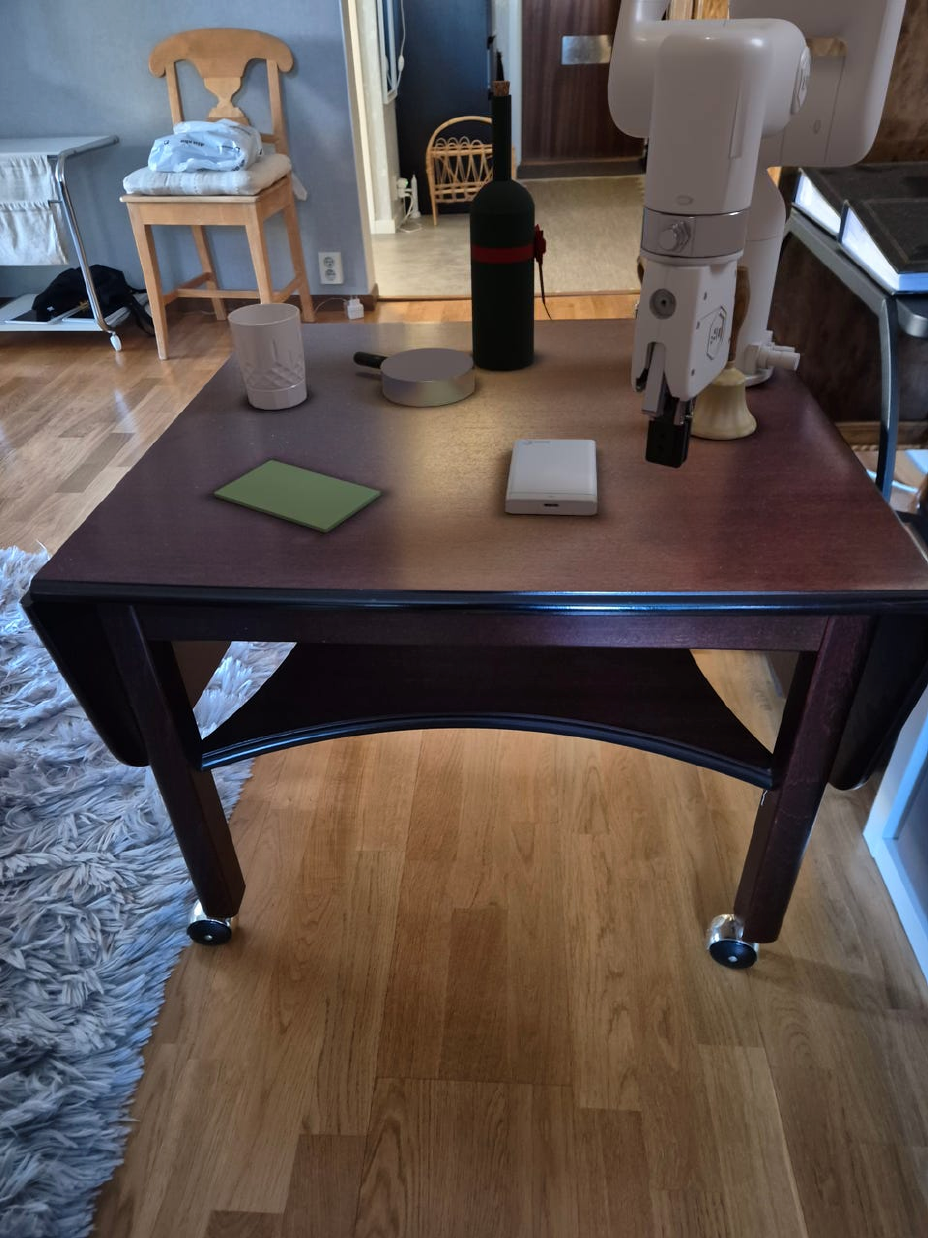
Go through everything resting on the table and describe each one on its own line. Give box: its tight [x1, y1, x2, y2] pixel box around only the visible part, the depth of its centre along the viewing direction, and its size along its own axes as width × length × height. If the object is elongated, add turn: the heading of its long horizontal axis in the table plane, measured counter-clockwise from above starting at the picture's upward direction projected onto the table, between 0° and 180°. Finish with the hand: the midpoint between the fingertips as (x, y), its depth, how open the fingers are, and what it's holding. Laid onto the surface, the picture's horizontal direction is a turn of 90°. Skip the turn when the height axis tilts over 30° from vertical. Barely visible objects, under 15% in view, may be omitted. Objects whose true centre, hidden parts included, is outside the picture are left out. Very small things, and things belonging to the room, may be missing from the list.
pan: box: [352, 347, 476, 408], centre depth 101 cm, size 16×11×3 cm, turn 57°
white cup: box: [227, 302, 308, 411], centre depth 97 cm, size 8×8×10 cm
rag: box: [213, 459, 382, 534], centre depth 80 cm, size 14×8×1 cm, turn 57°
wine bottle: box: [468, 80, 555, 372], centre depth 99 cm, size 8×10×30 cm
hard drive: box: [505, 438, 598, 516], centre depth 80 cm, size 2×8×12 cm
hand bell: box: [686, 266, 757, 441], centre depth 85 cm, size 8×8×16 cm
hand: (665, 460), depth 73 cm, fingers closed
